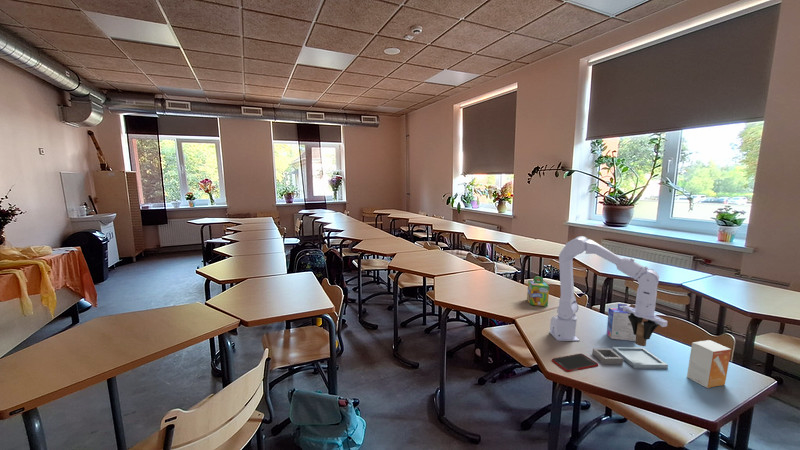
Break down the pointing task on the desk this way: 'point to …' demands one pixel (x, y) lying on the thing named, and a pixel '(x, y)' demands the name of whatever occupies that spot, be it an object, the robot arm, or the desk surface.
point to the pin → (640, 335)
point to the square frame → (607, 360)
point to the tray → (640, 357)
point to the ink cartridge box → (619, 324)
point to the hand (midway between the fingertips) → (641, 336)
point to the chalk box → (538, 292)
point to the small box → (708, 363)
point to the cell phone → (574, 362)
